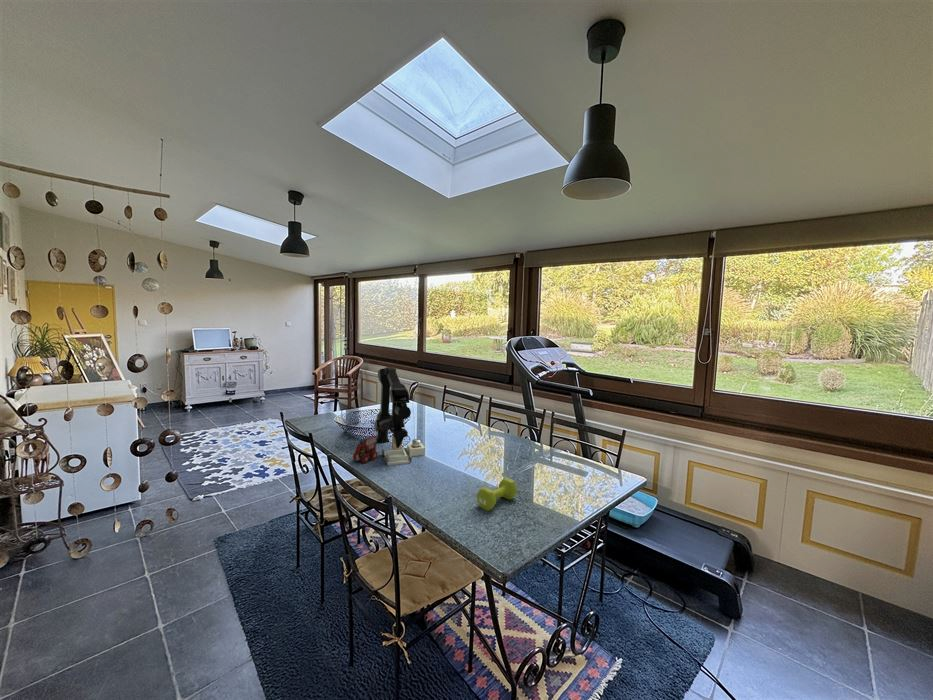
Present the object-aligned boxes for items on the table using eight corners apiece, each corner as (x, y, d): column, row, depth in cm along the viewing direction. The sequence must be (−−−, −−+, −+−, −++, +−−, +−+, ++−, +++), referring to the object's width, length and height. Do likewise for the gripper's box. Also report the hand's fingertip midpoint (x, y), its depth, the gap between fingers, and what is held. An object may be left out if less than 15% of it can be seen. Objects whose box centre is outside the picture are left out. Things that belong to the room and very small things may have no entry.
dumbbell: (490, 515, 123) (491, 495, 122) (473, 505, 128) (474, 486, 128) (518, 500, 134) (520, 481, 134) (502, 492, 140) (503, 474, 139)
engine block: (391, 447, 168) (392, 433, 167) (400, 446, 169) (400, 432, 169) (393, 450, 164) (393, 436, 164) (401, 449, 166) (402, 435, 165)
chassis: (381, 454, 172) (381, 448, 172) (405, 452, 177) (406, 446, 176) (385, 465, 159) (385, 459, 159) (411, 463, 163) (411, 456, 163)
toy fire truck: (349, 462, 162) (349, 439, 161) (370, 454, 172) (370, 433, 171) (359, 466, 158) (360, 443, 157) (380, 457, 168) (381, 436, 167)
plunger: (411, 446, 177) (411, 439, 177) (418, 445, 178) (419, 438, 178) (412, 448, 174) (413, 441, 173) (420, 448, 175) (420, 441, 175)
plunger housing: (406, 451, 178) (407, 444, 178) (421, 449, 181) (421, 443, 181) (409, 456, 172) (410, 449, 171) (424, 455, 174) (425, 448, 174)
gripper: (378, 409, 171) (377, 440, 172) (383, 419, 154) (381, 454, 155) (401, 408, 175) (400, 439, 176) (408, 418, 158) (407, 452, 159)
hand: (396, 446), depth 167 cm, fingers closed on engine block, 4 cm apart
